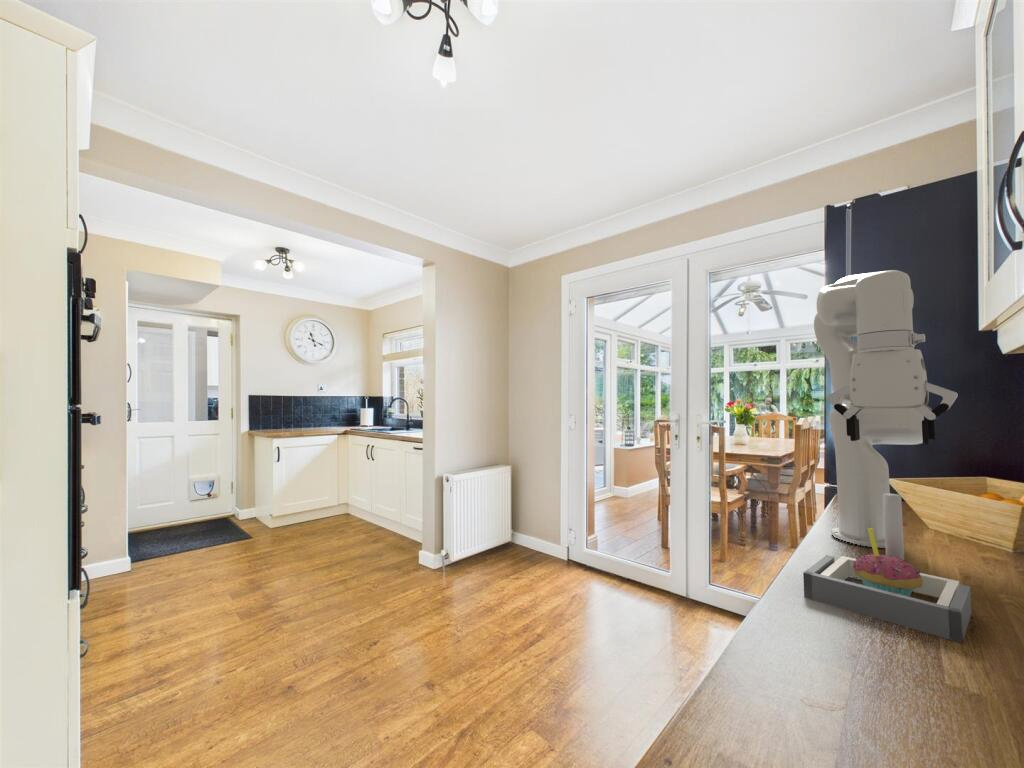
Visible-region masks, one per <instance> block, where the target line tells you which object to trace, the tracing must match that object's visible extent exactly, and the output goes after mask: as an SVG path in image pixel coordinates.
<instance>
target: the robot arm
mask: <svg viewBox="0 0 1024 768" xmlns="http://www.w3.org/2000/svg"><path fill="white" fill-rule="evenodd" d="M911 287H912V284H911V278H910V276H909V274H908V273H906V272H904V271H901V270H897V269H891V270H889V269H888V270H883V271H873V272H867V273H859V274H857V273H856V274H851V275H847V276H845V277H842V278H840V279H838V280H837V281H836V282H835V283H832V284H829V285H826V286H823V287H822V288H821V289H820V290H819V292H818V294H817V297H816V314H815V317H814V320H813V329H814V335H815V338H816V342H817V344H818V346H819V347H820V350H821V351H822V353H823V354H824V356H825V358H826V360H827V361H828V364H829V366H828V367H829V372H830V379H831V386H832V392H831V393H829V394H828V395H827V397H826V398H827V399H828V401H829V403H830V404H831V405H832V406H833V408H832V409H831V411H830V413H829V425H830V430H831V435H832V439H833V444H834V445H833V446H834V452H835V453H834V454H835V466H836V467H835V468H836V469H835V470H836V487H837V489H836V491H837V512H838V513H837V516H838V527H833V528H832V529H830V534H831V533H832V534H833V535H834V536H835V537H837V538H839V539H842V540H844V541H847V542H850V543H849V544H851V543H853V544H852V545H855V544H857V546H860V545H861V546H862V547H866V546H867V548H872V544H871V540H870V536H869V532H868V528H869V527H868V524H869V525H870V528H872V529H873V532H874V536H875V540H876V544H877V549H885V529H884V508H883V494H884V493H890V494H891V490H890V489H891V488H890V471H889V464H888V462H887V460H886V459H885V458H884V457H883V456H882V454H880V452H878V451H877V450H876V449H875V448H874V447H873V446H874V445H903V446H907V445H908V446H910V445H912V446H913V445H920V444H924V445H927V446H928V445H932V440H937V424H936V420H937V419H938V418H940V417H941V416H942V415H943V414H945V413H946V412H947V411H949V410H950V408H951V407H952V406H953V404H954V403H955V401H956V400H957V398H958V392H955V391H952V390H950V389H947V388H945V387H942V386H939V385H935V384H932V383H930V382H928V377H927V370H926V364H925V361H924V357H923V353H922V351H921V349H915V347H916V345H917V344H920V343H925V342H926V335H925V333H921V334H919V333H916V332H915V331H914V326H913V325H914V323H913V308H914V304H915V303H914V302H915V301H914V300H915V299H914V298H915V297H914V292H913V289H912V288H911ZM850 337H851V338H852V337H856V338H857V339H856V341H857V342H856V341H854V340H853V339H852V340H851V339H850ZM930 393H932V394H935V395H938V396H941V397H942V400H941V402H940V403H939V405H937V406H936V407H934V408H933V409H932V408H931V407H930V406H928V404H929V399H930V397H929V395H930ZM867 523H868V524H867ZM844 541H843V542H844ZM847 542H846V543H847Z"/></svg>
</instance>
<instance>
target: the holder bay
mask: <svg viewBox="0 0 1024 768" xmlns="http://www.w3.org/2000/svg"><path fill="white" fill-rule="evenodd" d="M835 561H836V560H835V556H833V555H829V554H826V555H824V556H823V557H822V558H821V559H819V560H818V561H817V562H815V563H814V564H812V565H811V566H810V567H809V568H807V569H806V570H805V571H804V572H803V573H802V574H803V575H802V576H803V579H802V580H803V598H804V599H810V600H812V601H817V602H819V603H823V604H826V605H830V606H834V607H837V608H840V609H843V610H846V611H849V612H854V613H858V614H861V615H864V616H868V617H872V618H874V619H878V620H881V621H885V622H888V623H891V624H895V625H899V626H902V627H905V628H908V629H913V630H916V631H919V632H922V633H926V634H929V635H933V636H935V637H936V636H937V637H940V638H943V639H947V640H949V641H954V642H957V643H960V642H961V643H960V644H963V643H964V642H963V641H964V640H963V639H964V638H965V636H966V634H967V633H966V632H967V629H968V626H969V623H970V621H971V618H972V617H971V616H972V614H973V612H972V611H973V609H972V592H971V586H969V585H965V584H960V583H959V586H958V588H957V590H956V593H955V595H954V597H953V600H952V602H951V604H950V607H948V606H944V605H940V604H937V602H936V603H935V602H931V601H927V600H923V599H920V598H916V597H912V596H910V597H908V596H904V595H900V594H896V593H892V592H888V591H884V590H880V589H876V588H872V587H868V586H864V584H860V583H856V582H852V581H847V580H840V579H836V578H832V577H828V576H824V575H820V574H821V573H822V572H823V571H824V570H826V569H827V568H828V567H829V566H830V565H832V564H833V563H834V562H835ZM962 642H963V643H962Z"/></svg>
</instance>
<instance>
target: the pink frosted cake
mask: <svg viewBox="0 0 1024 768" xmlns="http://www.w3.org/2000/svg"><path fill="white" fill-rule="evenodd" d="M867 524H868V523H867ZM868 527H869V528H868V532H869V536H870V540H871V544H872V547H871V548H872V552H873V553H870V554H864V555H862V556H858V557H856V558H855V559H856V561H854V562H853V568H854V571H855V574H856V575H859V576H860V578H861V579H860V578H859V579H860V580H861V582H862V585H864V586H868V587H872V588H876V589H880V590H884V591H888V592H892V593H896V594H900V595H904V596H908V597H911V595H912V592H913V590H914V589H915V588H918V587H921V586H922V584H923V580H922V577H921V575H920V573H921V572H920V570H918V569H917V567H915V566H913V564H912V563H910V562H907V561H906V560H905V559H904V560H902V559H899V558H898V557H896V558H895V557H892V556H889V555H888V556H887V555H886V553H885V554H880V553H879V548H877V544H876V540H875V536H874V532H873V529H872V528H870V525H869V524H868Z"/></svg>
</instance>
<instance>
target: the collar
mask: <svg viewBox="0 0 1024 768" xmlns="http://www.w3.org/2000/svg"><path fill="white" fill-rule="evenodd" d="M902 506H903V505H902V494H897V493H891V492H890V493H884V494H883V508H884V529H885V548H884V550H885V555H887V556H888V555H889V556H892V557H895V558H896V557H898V558H899V559H902V560H904V561H905V551H904V550H905V548H904V528H903V507H902ZM854 561H856V558H853V557H849V556H843V555H841V556H840V557H839V558H837V559H836V560H835V562H834V563H833V564H832V565H830V566H829V567H828V568H827V569H826V570H824V571H823V572H822V573H821V574H820V575H824V576H828V577H832V578H836V579H840V580H844V581H846V579H847V578H849V577H852V578H857V579H860V580H861V578H860V576H859V575H856V574H855V571H854V568H853V562H854ZM920 575H921V577H922V580H923V584H922V586H921V587H918V588H915V589H914V590H913V591H912V592H914V593H918V594H922V595H926V596H929V597H933V598H938V599H937V602H936V604H940V605H944V606H948V607H950V604H951V602H952V600H953V597H954V595H955V593H956V590H957V588H958V586H959V584H960V581H959V580H955V579H949V578H946V577H942V576H941V577H940V576H937V575H933V574H927V573H923V572H920Z"/></svg>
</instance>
